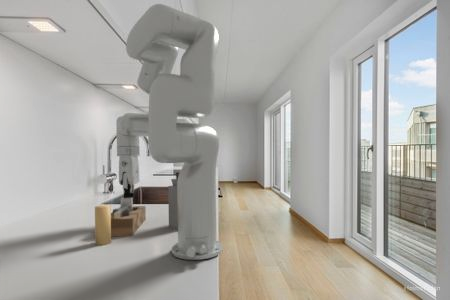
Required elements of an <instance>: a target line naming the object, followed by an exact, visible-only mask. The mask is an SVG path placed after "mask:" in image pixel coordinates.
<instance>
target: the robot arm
mask: <svg viewBox="0 0 450 300" xmlns="http://www.w3.org/2000/svg"><path fill="white" fill-rule="evenodd" d="M219 43H220V42H219V33H218V29H217V27H215V25H214V24H213V23H211V22H210V21H207V20H205V19H202V18H200V17H197V16H194V15H191V14H189V13H186V12H184V11H181V10H179V9H176V8H175V7H174V8H173V7H171V6H169V5H165V4H162V3H155V4H153V5H151V6H150V7H149V8H147V10H146V11H145V12H144V14H143V15H141V17H140V18H139V19H137V21H136V22H135V24H134V25H133V26H132V28H131V30H130V32H129V34H128V35H127V38H126V43H125V50H126V55H128V57H129V58H130V59H133V60H137V61H139V62H141V61H142V65H141V68H140V72H139V74H138V78H137V82H136V83H137V86H138V87H139V89H141V90H142V91H143V92H144V93H146V94H147V95H148V96H149V97H148V113H136V112H135V113H134V112H126V113H125V114H123V115H122V116H118V117H117V119H116V126H115V127H116V157H119V158H118V159H119V160H118V183H119V185H121V186H122V189H123V198H129V197H133V205H134V204H135V185H137V184H138V183H139V182H140V166H139V165H140V164H139V163H140V162H139V156H140V154H141V153H140V149H141V148H140V137H147V139H148V140H147V141H148V151H149V154H150V156H151V158H152V159H153V160H154V161H155V162H157V163H159V164H160V163H161V164H181V163H182V164H183V165H182V167H181V169H180V171H179V172H180V173H179V176H178V180H177V205H178V228H177V242H176V243H175V244H173V245H172V247H171V254H172V255H173V257H176V258H179V259H182V260H185V261H186V260H188V261H200V260H207V259H211V258H215V257H217V256H219V255H220V254H222V252H223V250H224V247H223V244H222V242H220V241H218V240H217V198H216V197H217V195H216V192H217V191H216V190H217V189H216V187H217V185H216V184H217V183H216V181H217V180H216V179H217V178H216V175H217V171H216V170H217V161H218V156H219V150H220V149H219V148H220V140H219V139H220V138H219V136H218V133H217V131H216V130H215V129H214V128H212V127H211V126H209V125H207V124H202V123H195V122H177V121H178V117H179V118H191V119H192V118H193V119H203V118H207V117H209V116H210V115H211V114H212V111H213V109H214V104H215V83H216V82H215V79H216V78H215V75H216V68H215V67H216V57H217V53H218V48H219ZM179 49H182V50H185V51H184V52H183V54H182V56H181V59H180V65H179V66H180V67H179V70H180V71H179V74H175V73H172V72H173V69H174V66H175V63H176V61H177V57H178V55H179Z"/></svg>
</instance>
